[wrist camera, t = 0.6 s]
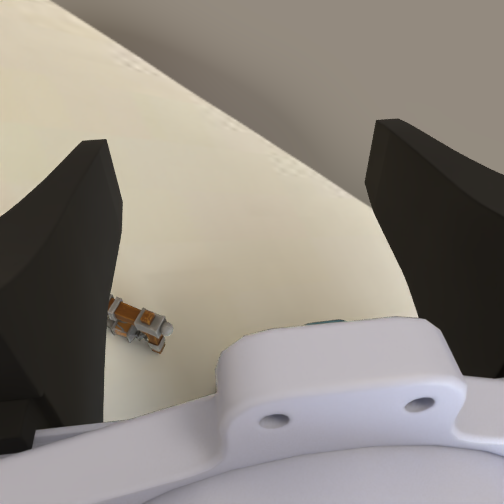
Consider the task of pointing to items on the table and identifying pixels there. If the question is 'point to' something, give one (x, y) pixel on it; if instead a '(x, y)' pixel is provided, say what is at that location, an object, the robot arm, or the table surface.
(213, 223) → the table surface
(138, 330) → the wooden post with brackets
